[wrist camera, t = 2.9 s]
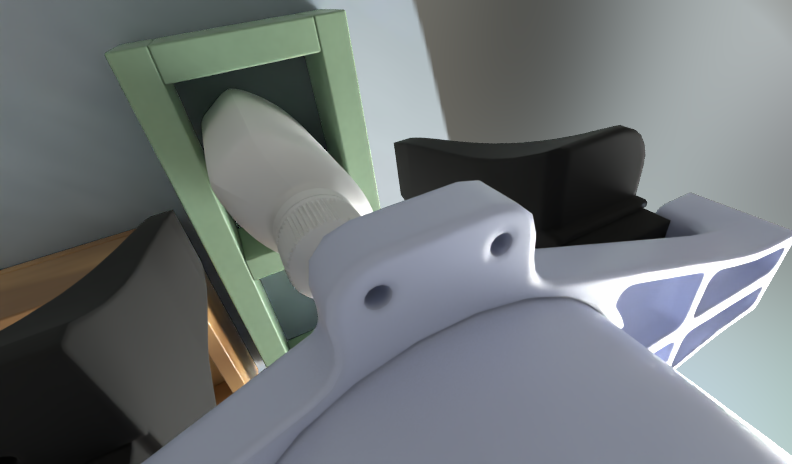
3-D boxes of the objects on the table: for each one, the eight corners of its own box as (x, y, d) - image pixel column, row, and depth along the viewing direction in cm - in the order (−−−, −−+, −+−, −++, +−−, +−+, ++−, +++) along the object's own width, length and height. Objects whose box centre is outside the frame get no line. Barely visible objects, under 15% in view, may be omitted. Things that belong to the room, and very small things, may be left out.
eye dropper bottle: (249, 211, 19) (309, 411, 9) (187, 100, 16) (186, 239, 6) (329, 177, 20) (455, 327, 10) (287, 65, 17) (416, 141, 7)
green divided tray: (384, 311, 26) (405, 343, 24) (274, 361, 24) (284, 401, 22) (321, 8, 16) (345, 9, 14) (117, 44, 14) (103, 53, 11)
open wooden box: (257, 368, 24) (268, 422, 21) (78, 447, 21) (59, 524, 18) (175, 215, 17) (172, 261, 14) (-100, 300, 15) (-178, 379, 11)
